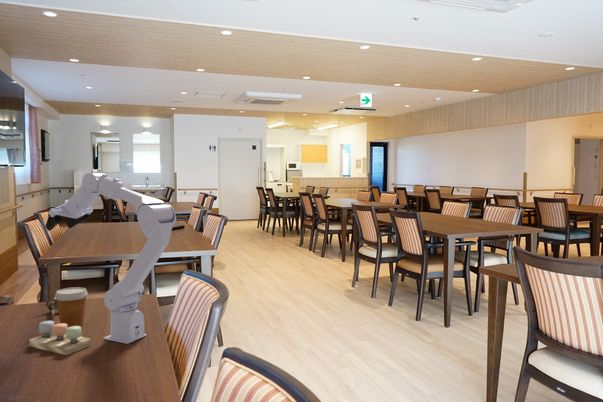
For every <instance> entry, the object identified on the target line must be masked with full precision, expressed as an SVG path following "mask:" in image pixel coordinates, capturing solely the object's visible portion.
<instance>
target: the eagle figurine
mask: <svg viewBox="0 0 603 402" xmlns="http://www.w3.org/2000/svg"><path fill="white" fill-rule="evenodd" d="M40 304H41V305H42V306H44V307H46V308H47V309H48V310H49V312H50V313H51V316H54V315H55V314H56V311H58V306H57V299H56V298H55V297H54V302H52V300H46V301H45V303H44V302H42V301H40Z"/></svg>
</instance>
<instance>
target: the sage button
mask: <svg viewBox="0 0 603 402" xmlns="http://www.w3.org/2000/svg"><path fill="white" fill-rule="evenodd" d="M79 337H82V327H80V326H72V327H68V328H66V338H67V339H70V344H75V343H77V338H79Z"/></svg>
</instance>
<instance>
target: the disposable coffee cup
mask: <svg viewBox="0 0 603 402" xmlns="http://www.w3.org/2000/svg"><path fill="white" fill-rule="evenodd" d="M88 293H89V292H88V291H87V289H86V288H85V287H77V286H76V287H74V286H73V287H66V288H62V289H58V290H56V292H55V295H54V298H56V299H57V306H58V309H57V311H58V317H59V324H60V323H66V324H67V328H68V327H72V326H80V327H81V328H82V327H83V326H84V325H83V324H84V319H85V309H86V302H87V301H86V300H87V297H88Z"/></svg>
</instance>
